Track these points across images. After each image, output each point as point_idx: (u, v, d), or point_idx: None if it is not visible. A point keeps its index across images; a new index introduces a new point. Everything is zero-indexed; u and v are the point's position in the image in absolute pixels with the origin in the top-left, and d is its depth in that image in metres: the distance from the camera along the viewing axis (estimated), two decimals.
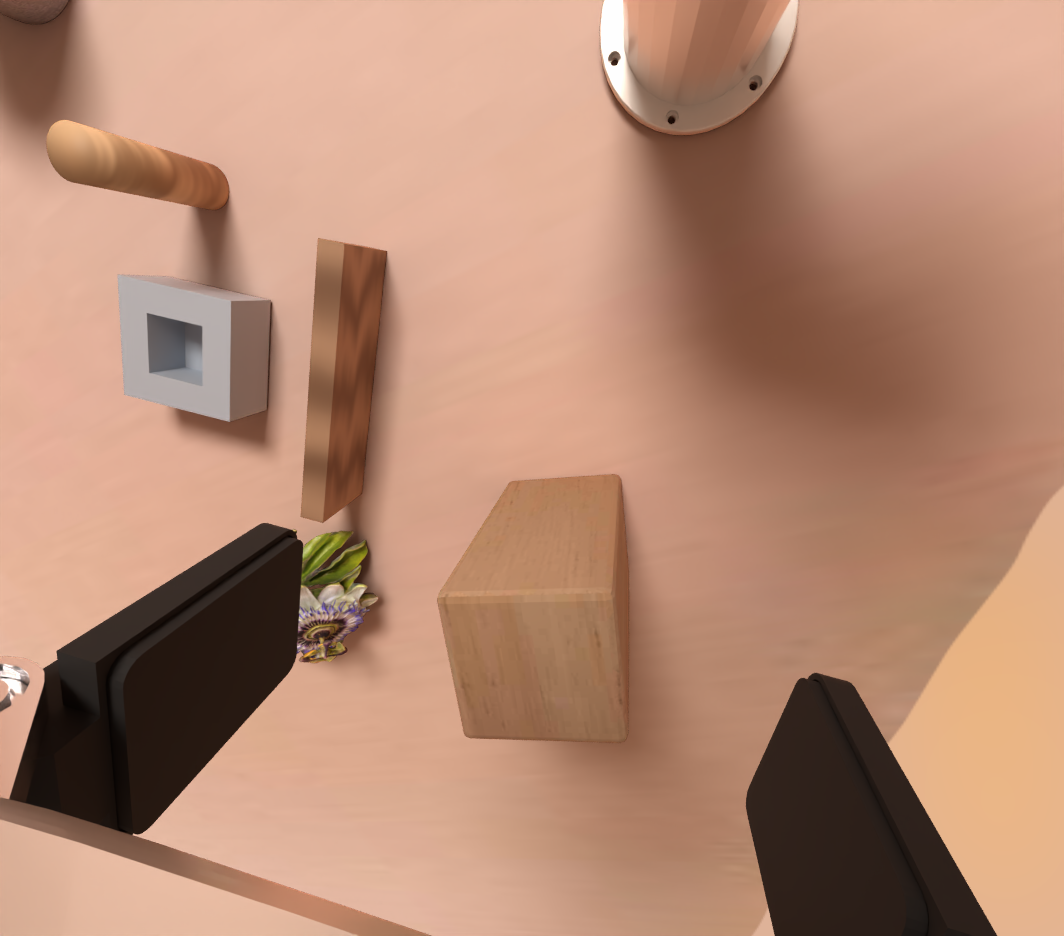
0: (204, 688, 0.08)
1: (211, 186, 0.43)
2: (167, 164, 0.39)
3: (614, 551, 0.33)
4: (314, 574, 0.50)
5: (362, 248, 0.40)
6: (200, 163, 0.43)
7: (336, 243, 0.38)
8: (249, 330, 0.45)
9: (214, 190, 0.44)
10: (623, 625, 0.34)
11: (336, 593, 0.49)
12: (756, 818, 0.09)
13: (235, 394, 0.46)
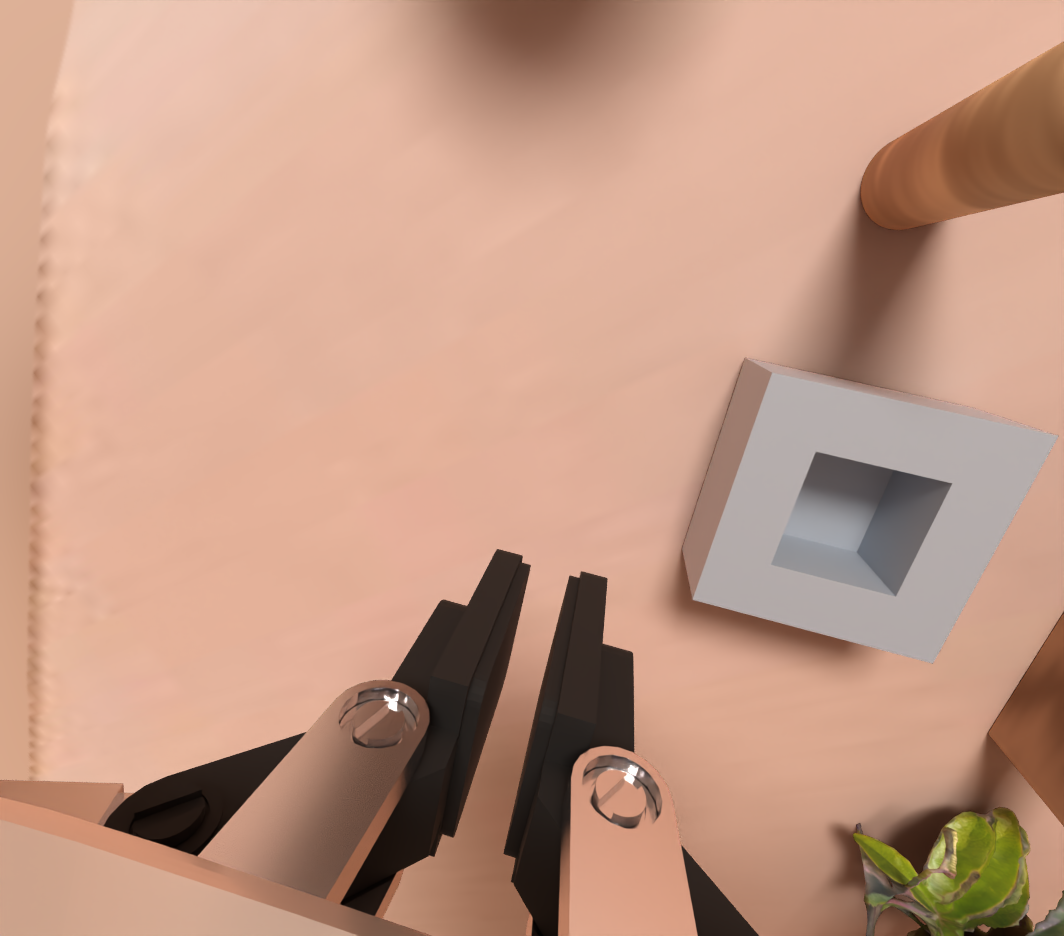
0: (489, 704, 0.09)
1: None
2: None
3: None
4: (992, 914, 0.26)
5: None
6: None
7: None
8: None
9: None
10: None
11: None
12: (538, 699, 0.11)
13: None
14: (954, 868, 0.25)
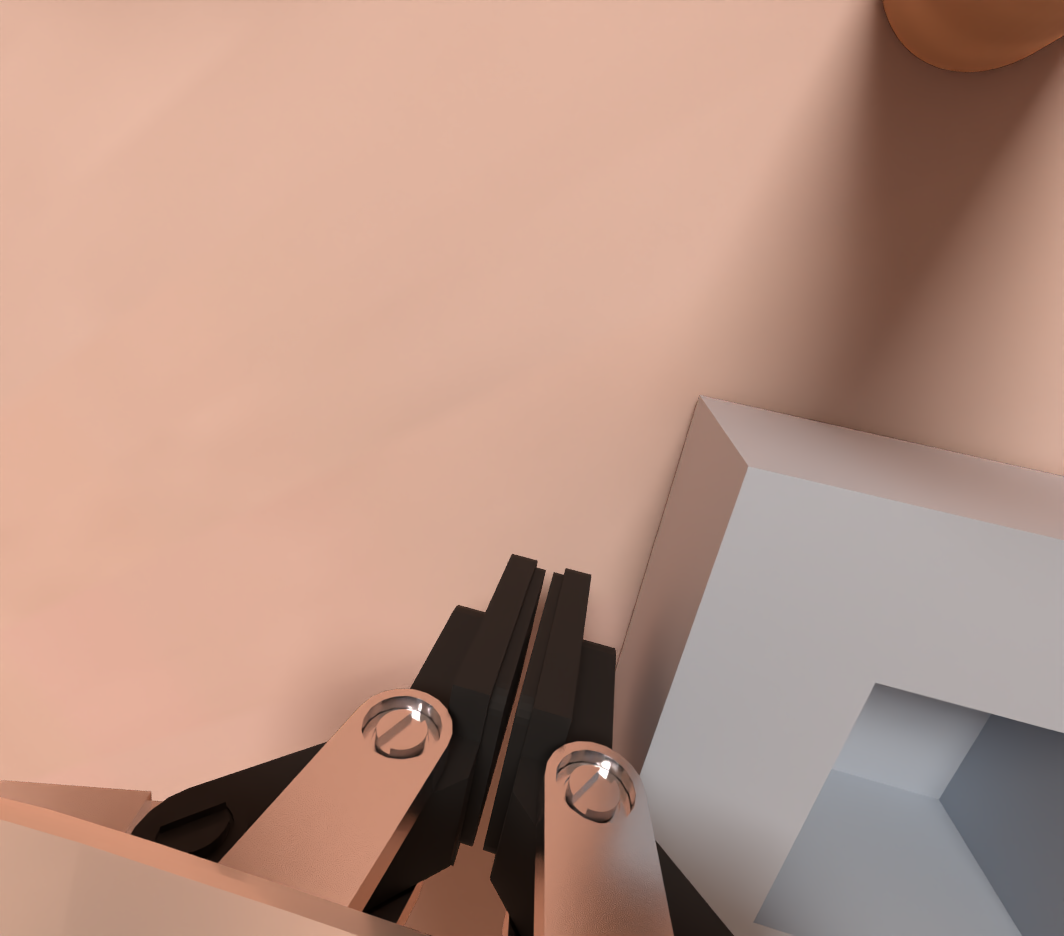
0: (507, 711, 0.09)
1: None
2: None
3: None
4: None
5: None
6: None
7: None
8: None
9: None
10: None
11: None
12: None
13: None
14: None
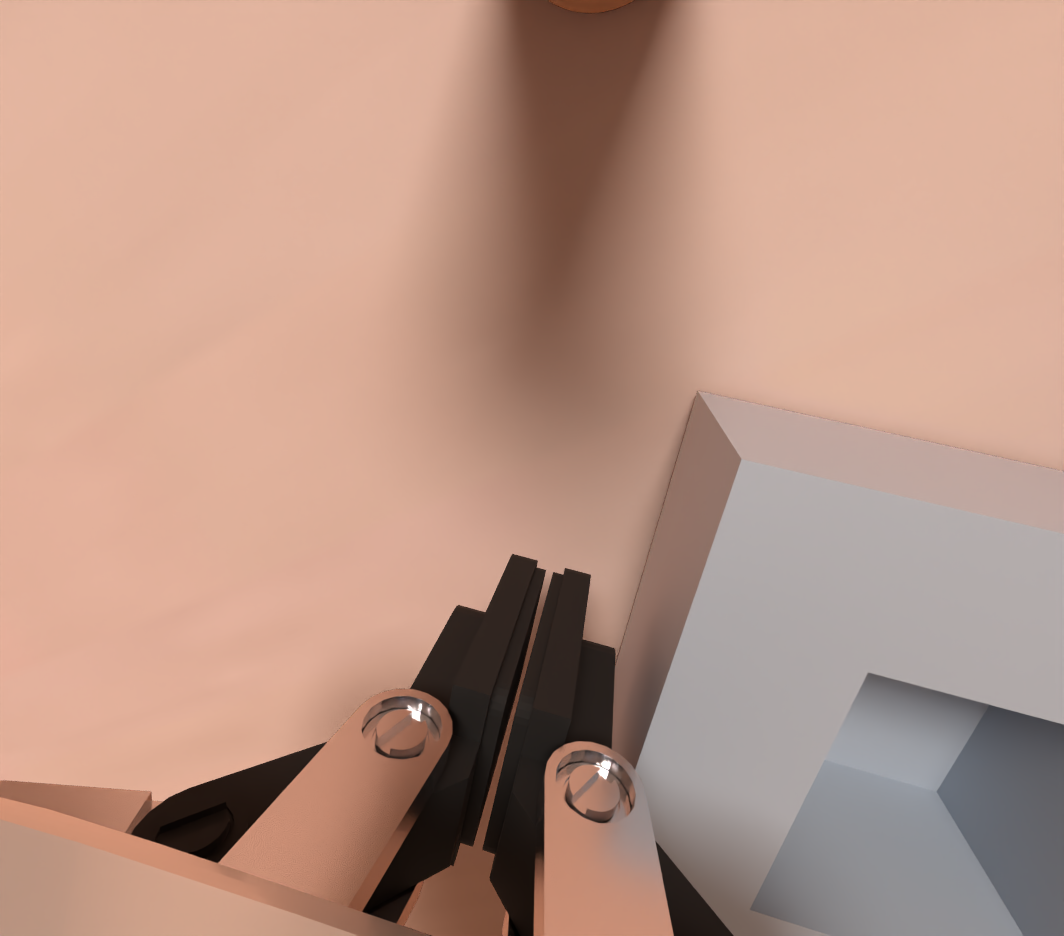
0: (508, 711, 0.09)
1: None
2: None
3: None
4: None
5: None
6: None
7: None
8: None
9: None
10: None
11: None
12: None
13: None
14: None
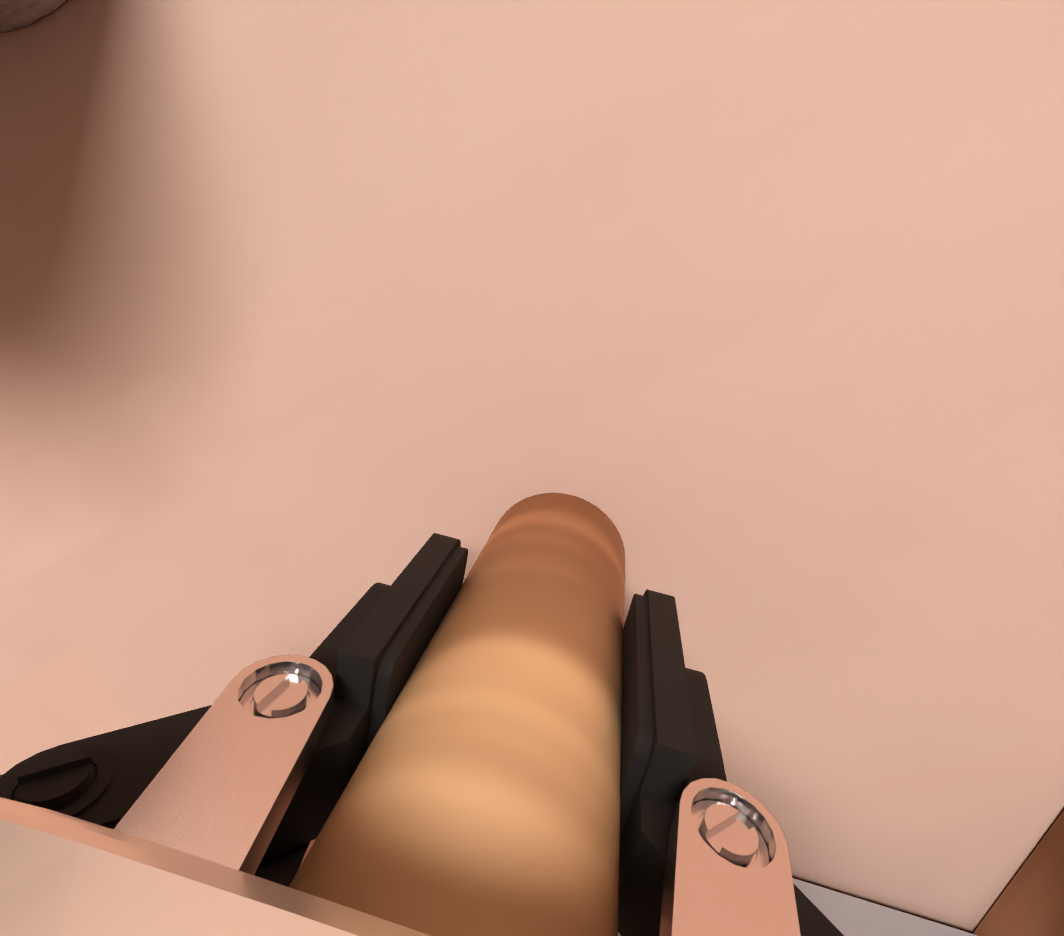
0: None
1: None
2: (618, 734, 0.08)
3: None
4: None
5: None
6: (599, 551, 0.11)
7: None
8: None
9: None
10: None
11: None
12: None
13: None
14: None
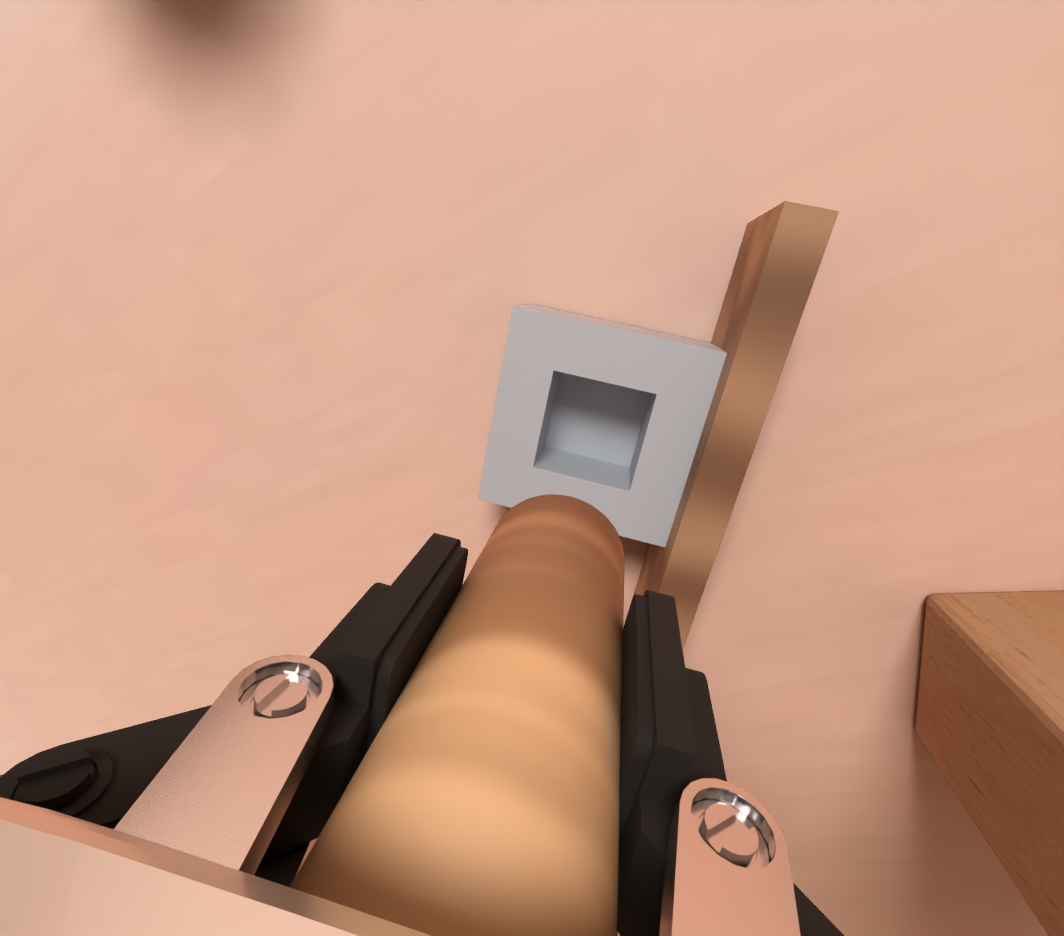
0: None
1: None
2: (617, 736, 0.08)
3: None
4: None
5: None
6: (598, 552, 0.11)
7: (821, 210, 0.20)
8: None
9: None
10: None
11: None
12: None
13: None
14: None
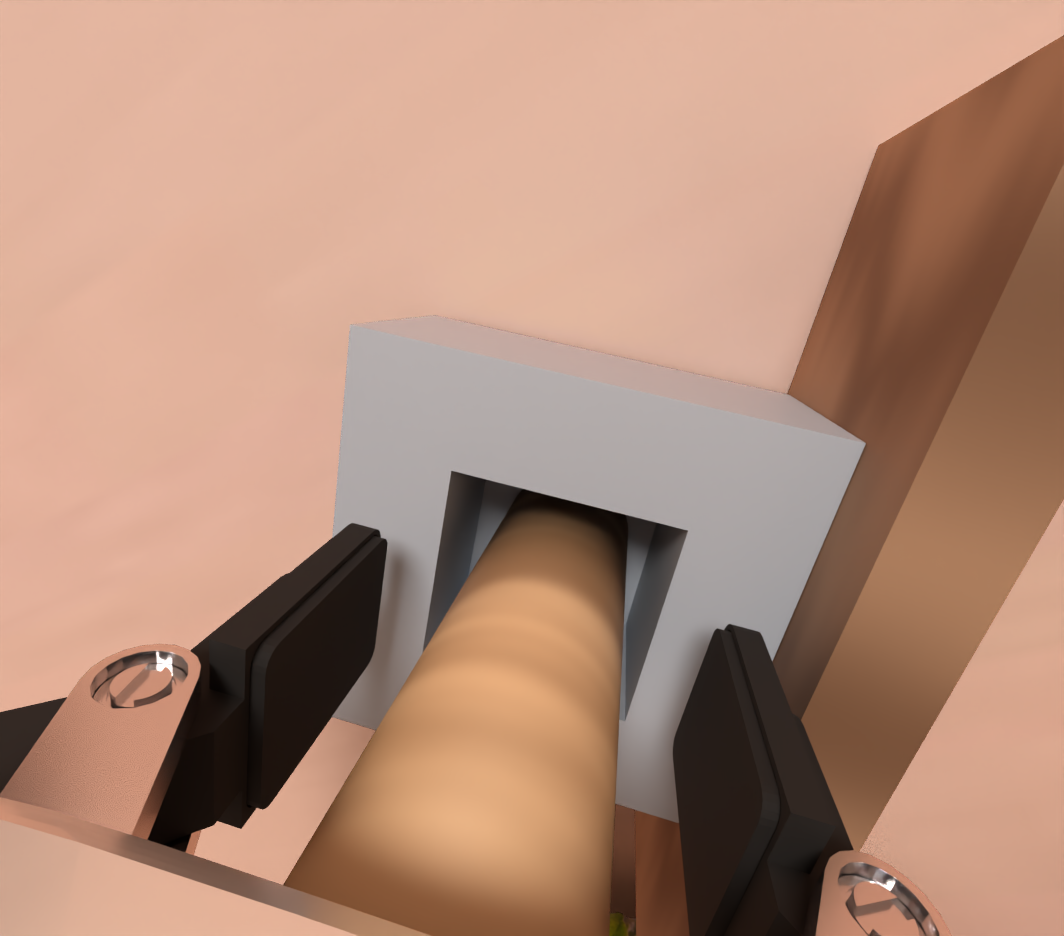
0: (314, 676, 0.09)
1: None
2: (619, 661, 0.09)
3: None
4: None
5: None
6: (604, 520, 0.13)
7: None
8: None
9: None
10: None
11: None
12: (678, 758, 0.10)
13: None
14: None
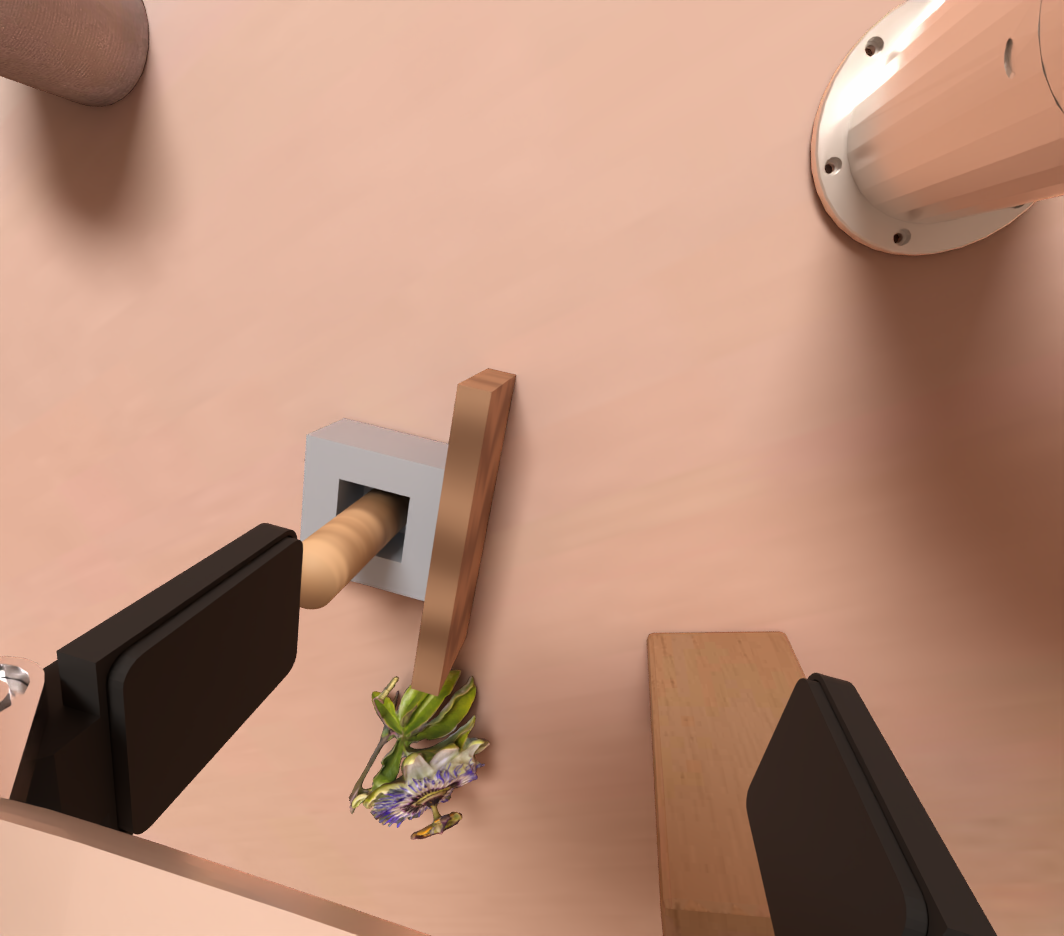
0: (204, 688, 0.08)
1: None
2: (380, 531, 0.34)
3: None
4: (422, 729, 0.42)
5: (502, 386, 0.33)
6: (397, 495, 0.38)
7: (481, 391, 0.31)
8: None
9: None
10: None
11: (450, 753, 0.41)
12: (756, 818, 0.09)
13: None
14: (382, 696, 0.41)
